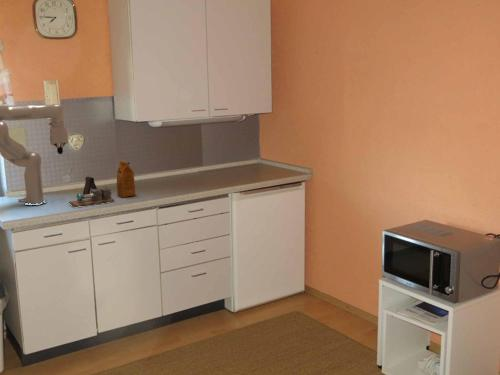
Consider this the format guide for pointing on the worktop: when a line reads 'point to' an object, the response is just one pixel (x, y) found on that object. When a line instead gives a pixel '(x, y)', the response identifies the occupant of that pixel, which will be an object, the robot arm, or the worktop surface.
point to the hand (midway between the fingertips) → (60, 153)
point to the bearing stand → (95, 198)
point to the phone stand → (89, 185)
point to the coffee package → (125, 180)
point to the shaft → (86, 196)
